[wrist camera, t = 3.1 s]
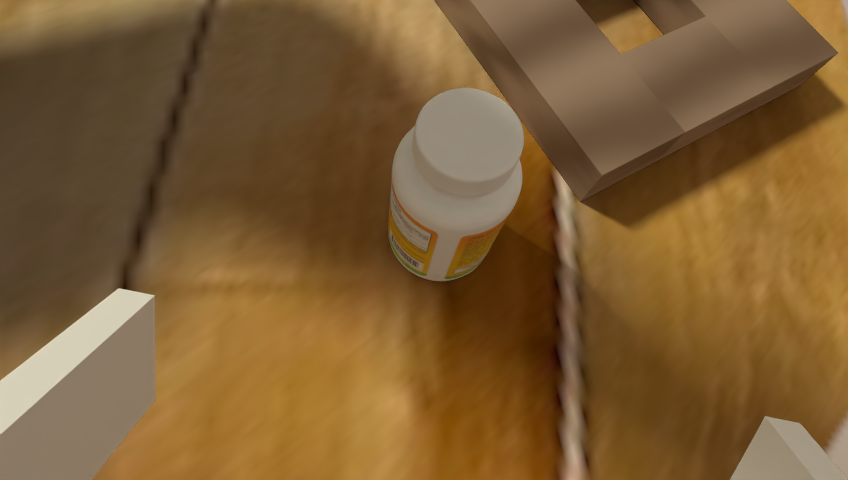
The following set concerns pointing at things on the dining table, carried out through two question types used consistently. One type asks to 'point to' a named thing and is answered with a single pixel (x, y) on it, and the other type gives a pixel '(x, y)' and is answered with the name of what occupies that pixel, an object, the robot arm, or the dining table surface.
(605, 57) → the socket stand
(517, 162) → the supplement bottle
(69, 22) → the dining table surface
